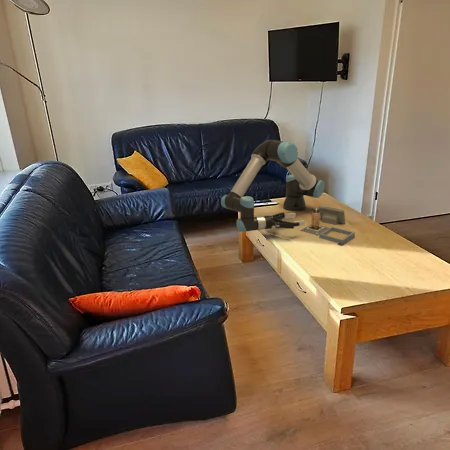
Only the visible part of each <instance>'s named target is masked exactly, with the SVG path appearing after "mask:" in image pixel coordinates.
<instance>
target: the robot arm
mask: <svg viewBox="0 0 450 450" xmlns="http://www.w3.org/2000/svg"><path fill="white" fill-rule="evenodd" d="M298 156H299V152H298V147H297V145H296V144H295V143H294V142H290V141H284V140H283V141H281V140H277V139H276V140H275V139H268V140H265V141H263V142H262V143H260V144H259V145H258V146H257V147H256V148H255V149H254V151H253V152H252V153H251V156H250V157H251V159H250V160H249V162H248V163H247V165H246V167H245V168H244V169H243V171H242V173H241V174H240V176H239V178H238V179H237V180H236V182H235V184H234V186H233V187H232V189H231V191H230V192H229V193H228V194H224V195H222V197H221V198H220V199H221V200H220V204H221V206H222V208H225V209H227V210H231V211H234V212H237V213H239V215H240V218H237V219H236V229H237V231H238V232H240V233H241V232H252V231H253V232H254V231H262V230H271V229H273V227H275V228H276V229H295V228H296V227H303V226H305V222H306V221H305V220H297V221H293V222H292V221H284V220H283V219H295V218H296V211H297V212H298V211H303V210H305V209H306V208H307V204H306V201H305V197H304V196H306V197H310V198H315V199H318V198H320V197H321V196H322V195H323V193H324V190H325V186H326V185H325V182H324V181H323V180H321V179H318V178H317V177H316V176H315V175H314V174H311V173H310V172H309V171H308V170H307V168H306V167H305V165H303V163H302V162H301V161H300V160H299V158H298ZM268 161H273V162H276V163H278V164H279V166H281V167H282V168H286V169H287V171H288V172H289V173H290V174H289V175H287V176H286V181H285V183H286V184H285V186H286V187H285V188H286V189H285V190H286V191H285V199H284V201H283V207H282V208H283V209H284V210H287V211H292V212H291V213H290V212H289V213H288V212H287V213H285V212H279V213H275V214H272V215H264V216H262V215H260V216H255V202H254V198H253V197H252V196H248V195H246V196H244V195H245V193H246V192H247V191H248V189H249V187H250V185H251V184H252V182H253V181H254V180H255V178H256V176H257V174H258V173H259V171H260V170H261V168H262V167H263V166H264V165H265V164H266V163H267V162H268ZM293 211H294V212H293Z"/></svg>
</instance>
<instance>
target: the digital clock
mask: <svg viewBox="0 0 450 450" xmlns="http://www.w3.org/2000/svg"><path fill="white" fill-rule="evenodd" d="M318 206H319V208H318V209H320V220H321V223H325V224H329V225H332V226H333V225H334V226H336V225H338V224H342V225H343V224H346V217H345V210H344V209H343V208H338V207H332V206H329V205H323V204H322V205H318Z"/></svg>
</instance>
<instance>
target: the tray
mask: <svg viewBox="0 0 450 450" xmlns="http://www.w3.org/2000/svg"><path fill="white" fill-rule="evenodd" d="M328 228H329V229H327V230H326V231H324V232H322V233H321V234H319V235H318V236H319V237H318V238H319V239H324V240H327V241H331V242H333V243H337V245H338V246H343V245H346V244H347V243H348V242H350V241H351V240H353V239H354V238H355V235H356V232H354V231H351V230H347V229H343V228H340V227H339V228H338V227H334V226H331V227H328ZM332 232H335V233H339V234H343V235H346V236H345V237H343V238H342V239H341V238H338V237H335V236H331V235H328V234H330V233H332Z"/></svg>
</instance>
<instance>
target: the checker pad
mask: <svg viewBox="0 0 450 450" xmlns="http://www.w3.org/2000/svg"><path fill="white" fill-rule="evenodd" d="M329 228H330V227H327V226H323V225H320V224H319V230H313V229H311V224H310V225H307V226H306V227H304V228H301V229H300V230H299V231H300V232H304V233H306V234H307V233H308V234H310V235H314V236H319V234H321V233H322V232H324V231H326V230H327V229H329Z"/></svg>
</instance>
